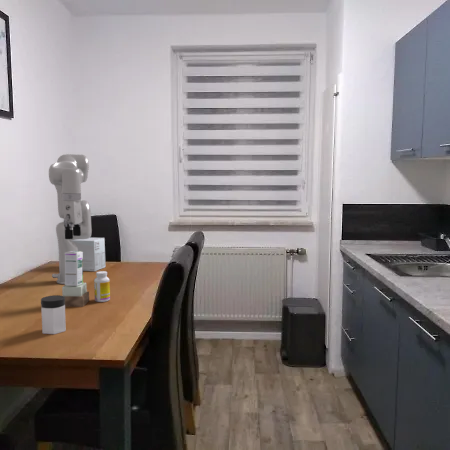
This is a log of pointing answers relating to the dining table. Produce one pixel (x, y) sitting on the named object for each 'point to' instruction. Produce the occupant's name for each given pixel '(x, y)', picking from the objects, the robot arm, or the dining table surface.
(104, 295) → the supplement bottle
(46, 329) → the jar
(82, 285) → the top block
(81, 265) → the syrup box
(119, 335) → the dining table surface
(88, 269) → the supplement box
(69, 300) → the bottom block
